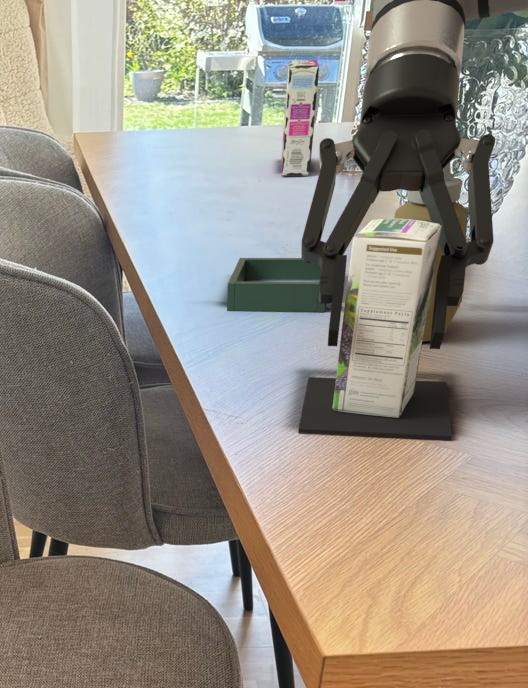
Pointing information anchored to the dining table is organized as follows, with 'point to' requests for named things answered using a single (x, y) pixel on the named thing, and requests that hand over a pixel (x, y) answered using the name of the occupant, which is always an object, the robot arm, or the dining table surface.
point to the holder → (274, 286)
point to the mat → (415, 421)
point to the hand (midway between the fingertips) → (384, 339)
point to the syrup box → (385, 315)
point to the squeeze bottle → (420, 212)
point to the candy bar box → (299, 117)
